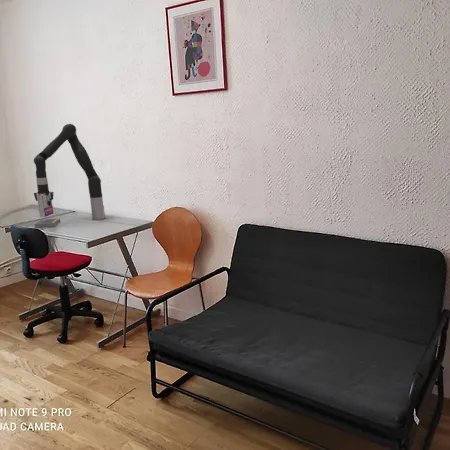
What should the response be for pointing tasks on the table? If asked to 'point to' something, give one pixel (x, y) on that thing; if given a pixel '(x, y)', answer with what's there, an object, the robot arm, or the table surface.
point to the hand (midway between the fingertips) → (45, 206)
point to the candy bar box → (44, 205)
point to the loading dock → (47, 223)
